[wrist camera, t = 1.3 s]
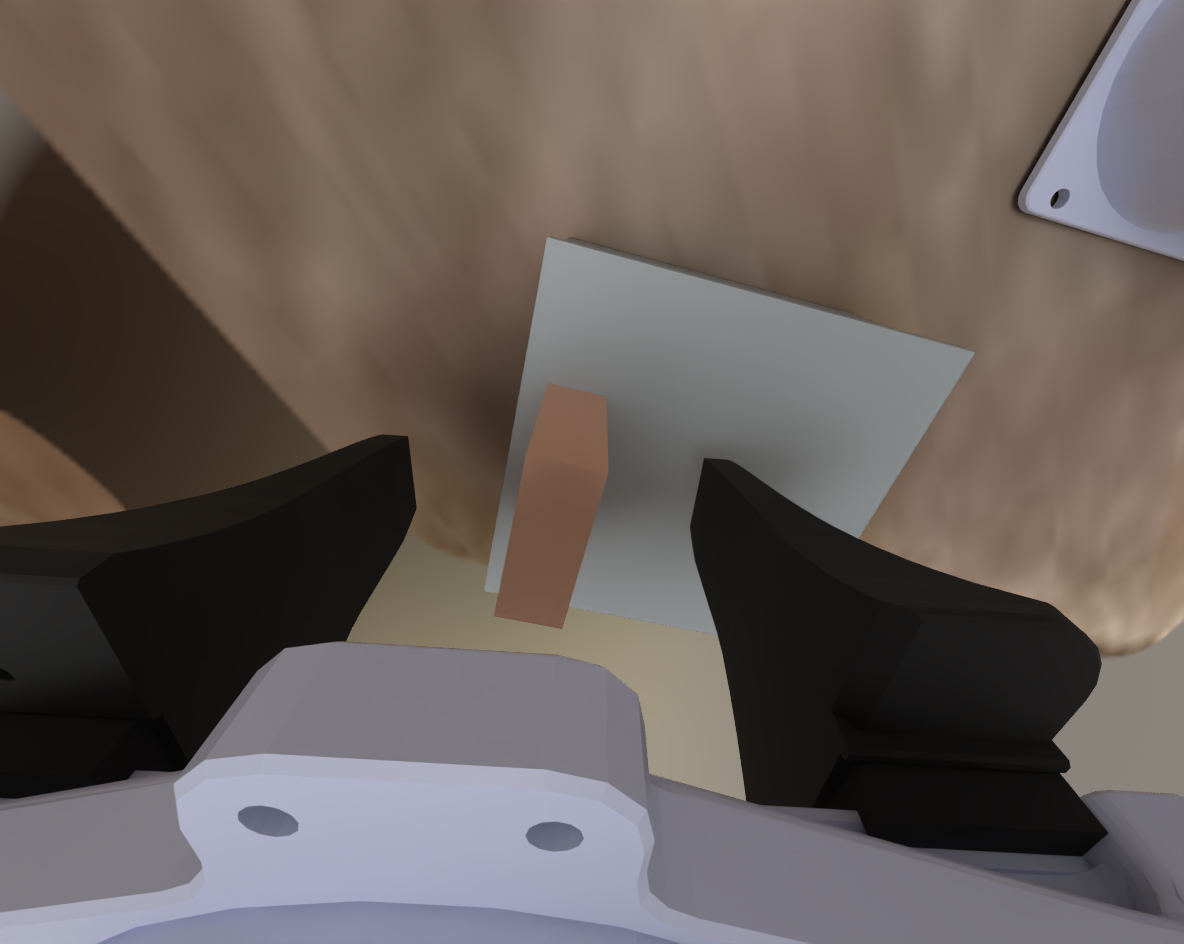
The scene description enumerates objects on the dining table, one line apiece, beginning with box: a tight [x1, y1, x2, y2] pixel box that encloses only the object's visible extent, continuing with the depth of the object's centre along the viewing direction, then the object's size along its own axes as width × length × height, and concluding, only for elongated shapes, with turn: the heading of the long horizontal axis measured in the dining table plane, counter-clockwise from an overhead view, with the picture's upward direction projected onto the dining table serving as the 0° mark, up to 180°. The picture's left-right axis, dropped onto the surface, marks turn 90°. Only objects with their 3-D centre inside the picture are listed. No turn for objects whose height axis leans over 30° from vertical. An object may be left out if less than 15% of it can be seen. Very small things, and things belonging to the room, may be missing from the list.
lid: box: [484, 236, 975, 635], centre depth 12 cm, size 10×10×5 cm
